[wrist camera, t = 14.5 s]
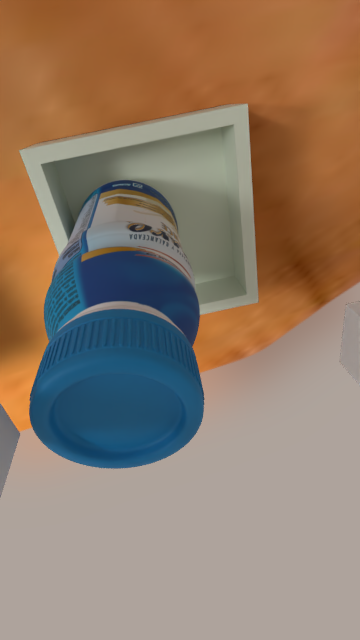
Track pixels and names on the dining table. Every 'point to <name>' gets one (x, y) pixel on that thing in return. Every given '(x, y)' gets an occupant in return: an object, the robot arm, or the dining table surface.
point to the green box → (167, 189)
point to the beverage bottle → (120, 336)
